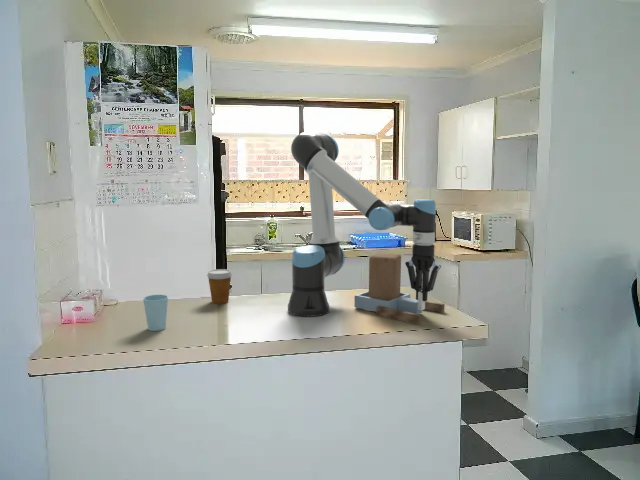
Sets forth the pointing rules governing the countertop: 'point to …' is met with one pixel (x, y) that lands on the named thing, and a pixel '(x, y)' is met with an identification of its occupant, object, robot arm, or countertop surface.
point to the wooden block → (384, 276)
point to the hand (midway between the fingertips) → (421, 309)
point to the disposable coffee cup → (219, 285)
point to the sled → (387, 303)
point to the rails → (408, 315)
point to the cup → (156, 311)
